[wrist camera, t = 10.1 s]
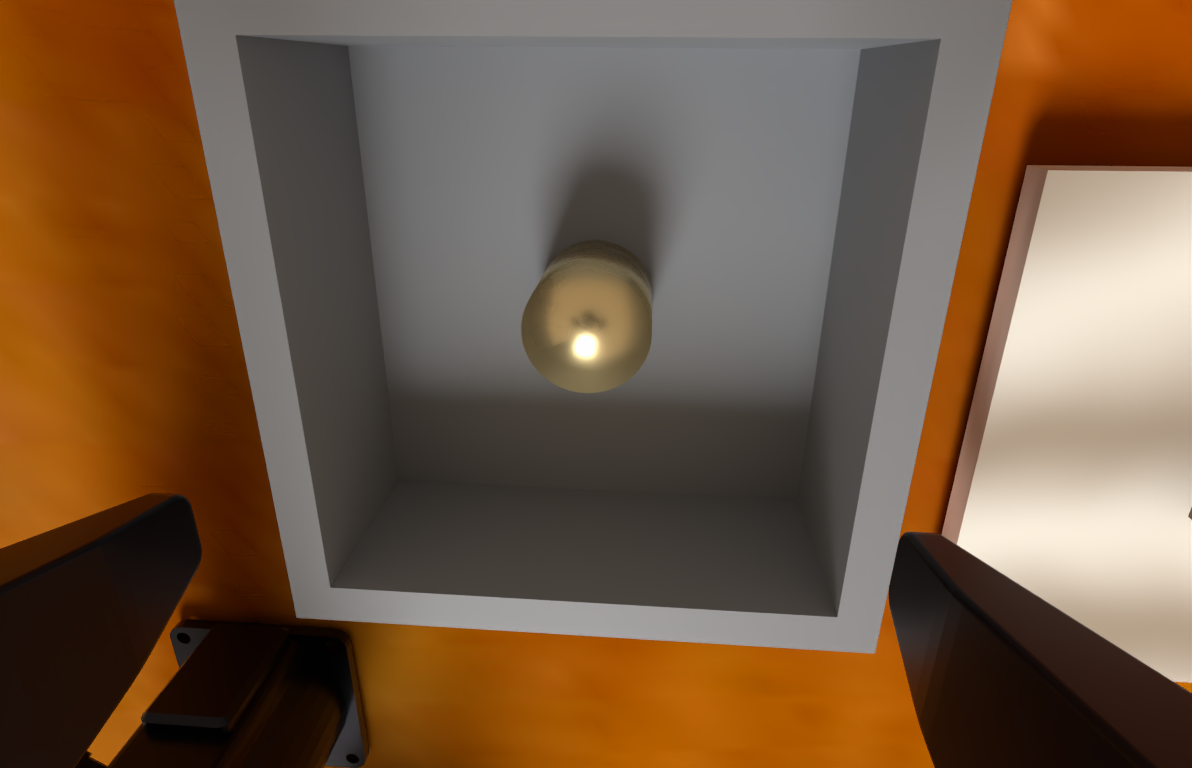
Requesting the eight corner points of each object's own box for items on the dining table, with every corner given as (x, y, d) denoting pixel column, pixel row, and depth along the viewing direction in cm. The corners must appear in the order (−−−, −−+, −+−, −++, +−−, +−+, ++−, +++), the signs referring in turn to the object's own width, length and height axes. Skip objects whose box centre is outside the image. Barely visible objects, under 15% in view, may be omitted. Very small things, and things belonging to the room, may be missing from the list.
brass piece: (650, 351, 20) (649, 395, 17) (541, 347, 20) (522, 390, 17) (654, 241, 18) (655, 270, 16) (538, 238, 19) (518, 266, 16)
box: (820, 511, 22) (874, 653, 17) (381, 490, 23) (296, 618, 18) (900, 3, 17) (1019, -32, 11) (319, 2, 18) (167, -31, 12)
